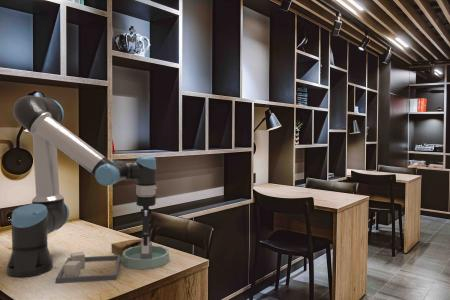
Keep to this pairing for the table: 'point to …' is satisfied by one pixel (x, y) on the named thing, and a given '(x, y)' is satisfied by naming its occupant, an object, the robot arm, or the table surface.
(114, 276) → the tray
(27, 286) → the table surface
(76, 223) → the table surface
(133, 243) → the stone
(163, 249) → the bowl
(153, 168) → the robot arm
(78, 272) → the light grey block
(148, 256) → the grey square pillar
